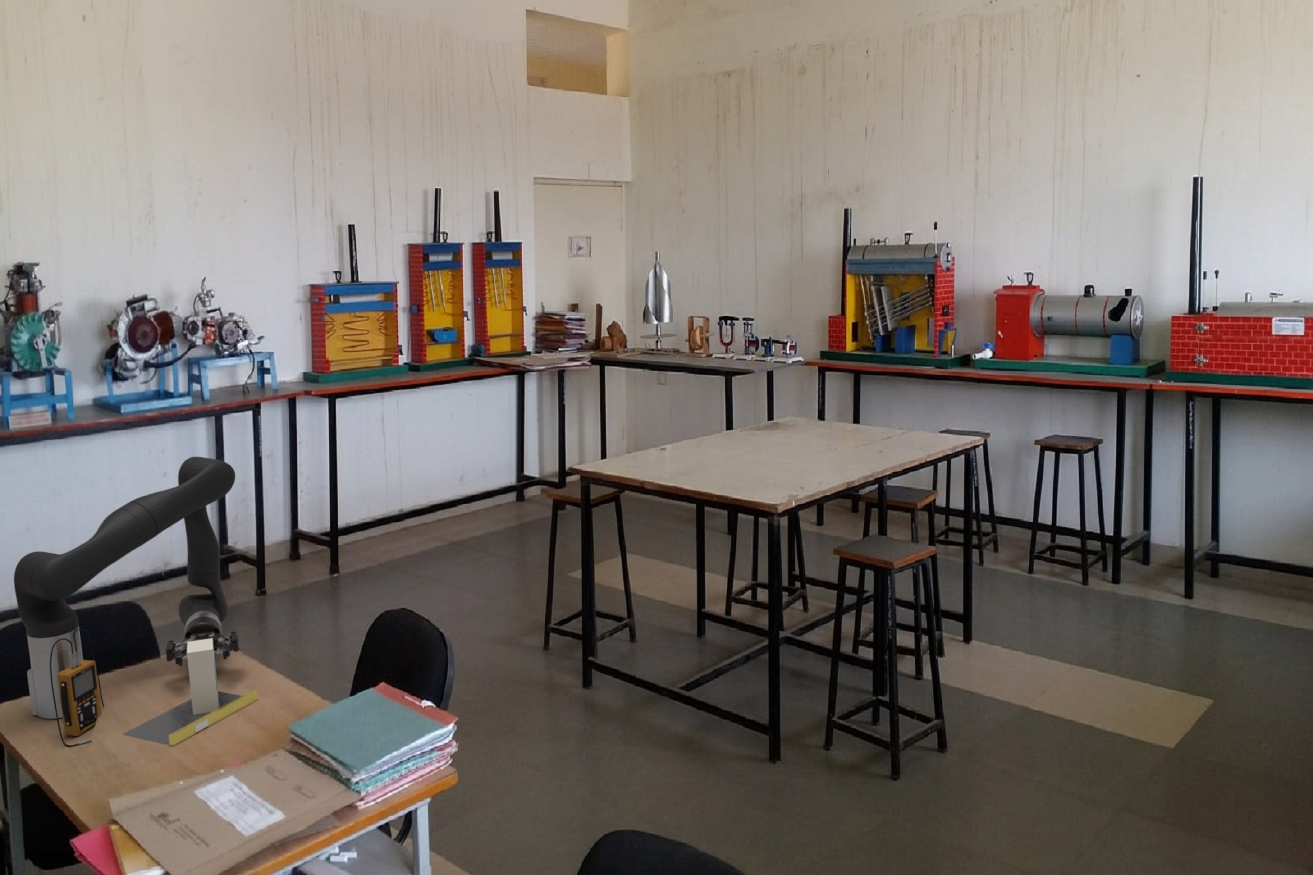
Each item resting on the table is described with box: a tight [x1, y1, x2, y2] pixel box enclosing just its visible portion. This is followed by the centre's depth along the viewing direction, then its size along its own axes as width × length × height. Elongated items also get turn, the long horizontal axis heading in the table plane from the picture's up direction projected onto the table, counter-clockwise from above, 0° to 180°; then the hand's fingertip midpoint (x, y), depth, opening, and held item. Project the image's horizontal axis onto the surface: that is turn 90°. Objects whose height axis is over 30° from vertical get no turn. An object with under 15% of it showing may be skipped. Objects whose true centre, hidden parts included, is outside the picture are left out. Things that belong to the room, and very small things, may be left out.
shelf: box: [122, 689, 259, 747], centre depth 213 cm, size 13×22×4 cm, turn 157°
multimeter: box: [50, 628, 105, 748], centre depth 209 cm, size 15×10×20 cm
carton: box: [186, 638, 219, 715], centre depth 216 cm, size 5×6×13 cm
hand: (202, 658), depth 222 cm, fingers open, 8 cm apart
